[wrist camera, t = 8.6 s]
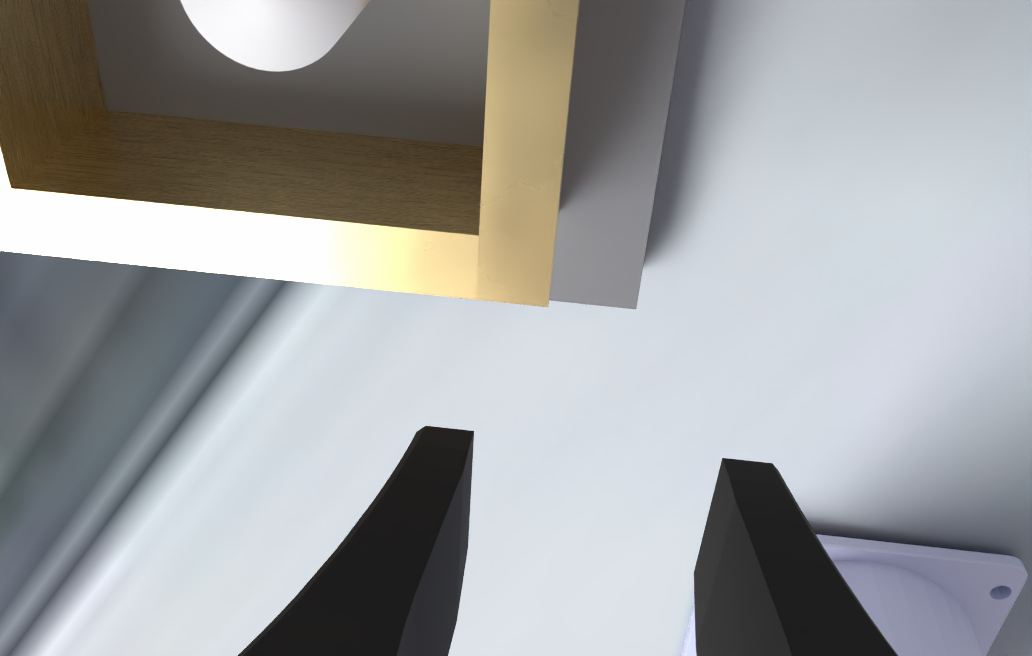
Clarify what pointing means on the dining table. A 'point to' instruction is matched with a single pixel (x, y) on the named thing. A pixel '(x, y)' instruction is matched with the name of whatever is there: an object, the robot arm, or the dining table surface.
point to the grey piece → (417, 94)
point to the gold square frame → (287, 173)
